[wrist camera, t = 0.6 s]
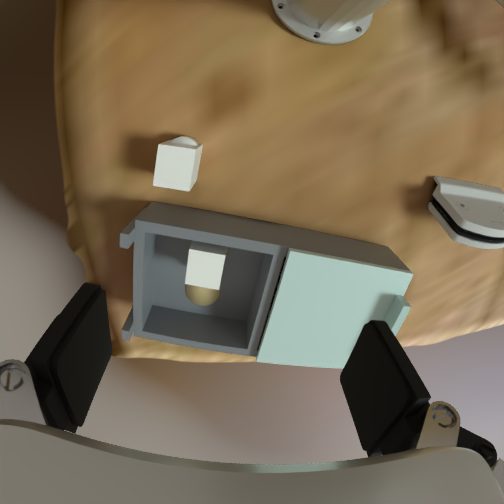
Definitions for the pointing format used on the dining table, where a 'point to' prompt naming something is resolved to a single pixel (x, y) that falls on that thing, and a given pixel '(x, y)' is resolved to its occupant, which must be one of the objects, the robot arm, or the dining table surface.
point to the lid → (329, 308)
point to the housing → (232, 281)
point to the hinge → (469, 212)
